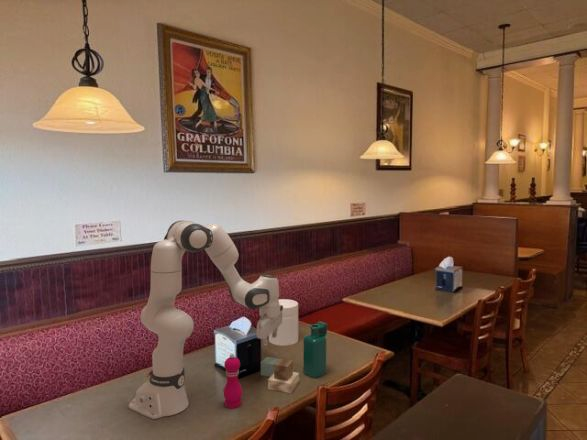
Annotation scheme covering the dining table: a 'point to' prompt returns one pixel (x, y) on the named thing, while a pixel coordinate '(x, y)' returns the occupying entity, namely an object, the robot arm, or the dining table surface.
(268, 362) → the teal block
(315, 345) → the green water bottle
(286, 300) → the canister
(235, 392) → the pepper mill
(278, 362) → the walnut block
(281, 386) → the maple base
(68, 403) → the dining table surface
